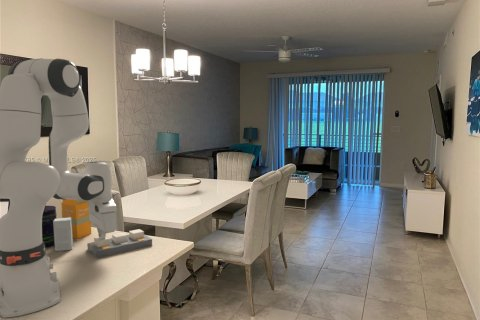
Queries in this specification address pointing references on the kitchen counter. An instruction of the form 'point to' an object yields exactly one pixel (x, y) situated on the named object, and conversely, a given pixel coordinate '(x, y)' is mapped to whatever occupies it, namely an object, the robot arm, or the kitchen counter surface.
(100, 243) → the near button
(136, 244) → the button panel
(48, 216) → the dark blue cylinder
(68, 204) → the orange juice
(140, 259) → the kitchen counter surface
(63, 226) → the skincare box
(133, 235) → the far button
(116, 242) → the middle button
